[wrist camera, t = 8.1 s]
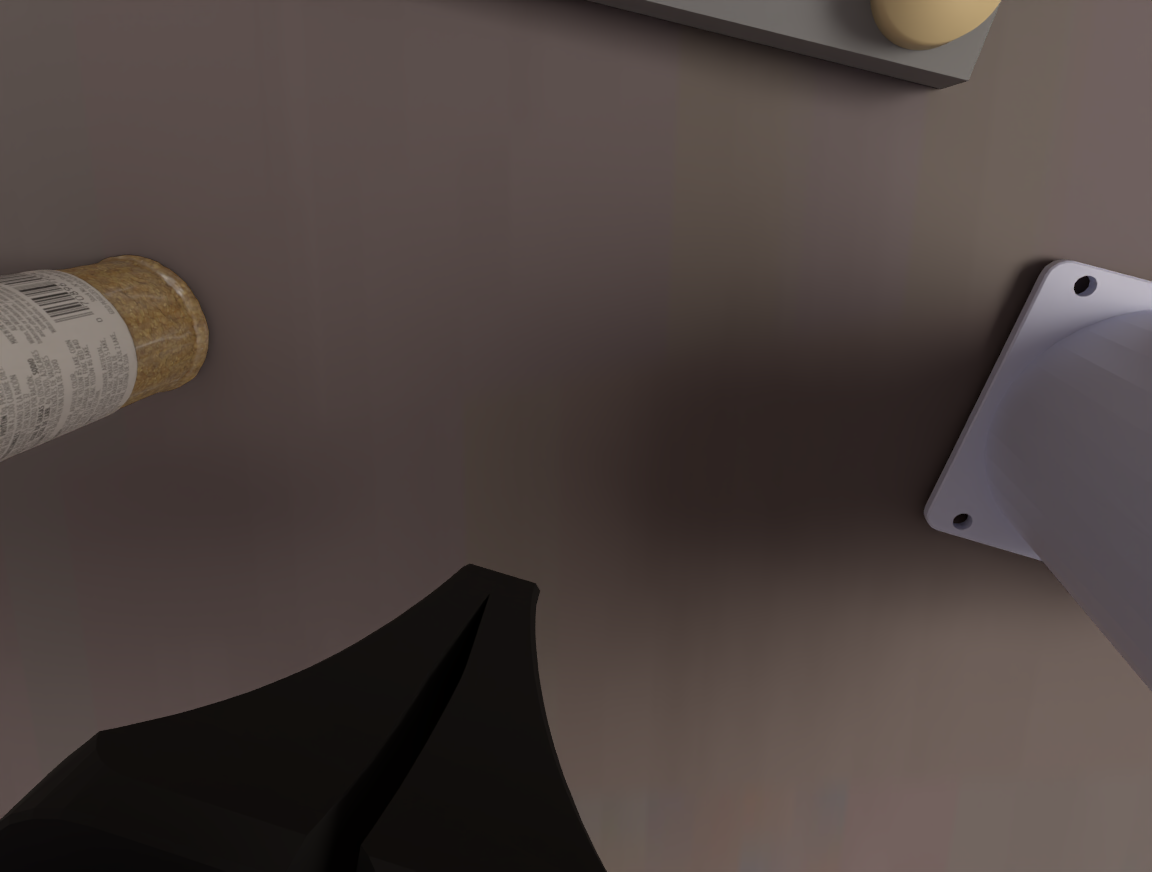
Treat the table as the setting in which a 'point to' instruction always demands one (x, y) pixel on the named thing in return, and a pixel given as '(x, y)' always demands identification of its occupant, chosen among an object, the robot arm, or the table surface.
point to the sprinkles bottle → (91, 345)
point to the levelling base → (848, 31)
